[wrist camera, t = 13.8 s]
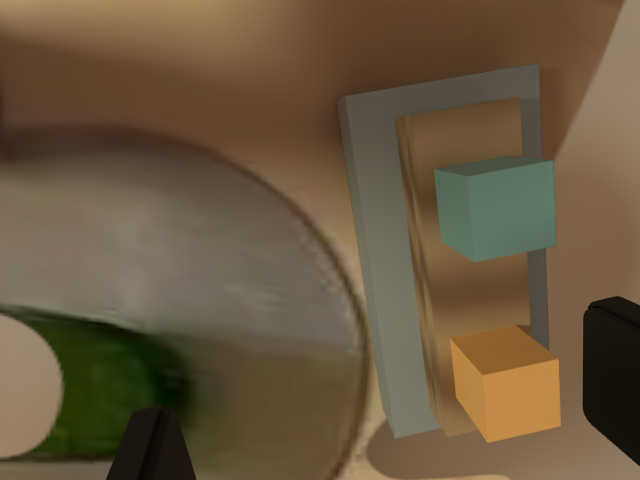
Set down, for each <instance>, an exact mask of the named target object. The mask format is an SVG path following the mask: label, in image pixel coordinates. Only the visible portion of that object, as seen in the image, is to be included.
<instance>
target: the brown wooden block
mask: <svg viewBox="0 0 640 480" xmlns="http://www.w3.org/2000/svg"><path fill="white" fill-rule="evenodd" d="M395 124H396V132H397V140H398V149H399V157H400V165H401V174H402V182H403V191H404V199H405V207H406V216H407V224H408V232H409V241H410V249H411V258H412V266H413V274H414V283H415V291H416V300H417V308H418V316H419V325H420V333H421V341H422V350H423V358H424V367H425V375H426V383H427V392H428V400H429V407H430V409H431V411H432V412H433V414H434V416H435V418H436V419H437V421H438V423H439V424H440V426H441V428H442V430H443V431H444V433H445V435H446V436H447V437H450V436H455V435H460V434H464V433H469V432H473V431H477V430H479V429H478V428H477V426H476V425H475V424H474V422H473V421H472V419H471V418H470V416H469V415H468V414H467V412H466V411H465V409H464V408H463V406H462V405H461V404H460V402H459V401H458V399H457V398H456V391H455V381H454V371H453V361H452V351H451V341H450V339H451V338H455V337H460V336H465V335H470V334H474V333H479V332H484V331H489V330H493V329H498V328H503V327H507V326H512V325H516V326H517V327H519V328H520V329H521V330H522V331H524V332H525V333H526V334H527V335H529V336H530V337H531V327H530V306H529V285H528V263H527V252H523V253H518V254H513V255H508V256H503V257H498V258H493V259H489V260H484V261H479V262H473V261H471V260H470V259H468V258H467V257H465V256H463V255H462V254H460V253H459V252H457V251H455V250H454V249H452V248H451V247H449V246H448V245H446V244H444V243H443V242H441V234H440V225H439V215H438V205H437V195H436V185H435V175H434V169H438V168H443V167H449V166H454V165H459V164H465V163H470V162H476V161H481V160H486V159H492V158H497V157H502V156H513V157H522V136H521V115H520V97H514V98H508V99H501V100H494V101H488V102H482V103H476V104H473V105H467V106H461V107H454V108H448V109H442V110H436V111H433V112H428V113H422V114H414V115H408V116H402V117H397V118H395Z"/></svg>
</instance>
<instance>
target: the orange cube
mask: <svg viewBox="0 0 640 480" xmlns="http://www.w3.org/2000/svg"><path fill="white" fill-rule="evenodd" d="M450 341H451V351H452V361H453V371H454V381H455V391H456V398H457V399H458V401H459V402H460V404H461V405H462V406H463V408H464V409H465V411H466V412H467V414H468V415H469V416H470V418H471V419H472V421H473V422H474V424H475V425H476V426H477V428H478V429H479V430H480V432H481V433H482V435H483V436H484V438H485V439H486V441H487V442H488V443H489V442H493V441H498V440H502V439H506V438H511V437H515V436H520V435H524V434H528V433H532V432H537V431H541V430H546V429H550V428H554V427H559V426H561V422H560V389H559V359H558V358H557V357H556V356H554V355H553V354H552V353H550V352H549V351H548V350H547V349H545V348H544V347H543V346H542V345H540V344H539V343H538V342H536V341H535V340H534V339H533V338H531V337H530V336H529V335H527V334H526V333H525V332H524V331H522V330H521V329H520V328H519V327H517V326H516V325H512V326H507V327H503V328H498V329H493V330H489V331H484V332H479V333H474V334H470V335H465V336H460V337H455V338H451V339H450Z"/></svg>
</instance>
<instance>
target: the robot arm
mask: <svg viewBox="0 0 640 480" xmlns="http://www.w3.org/2000/svg"><path fill="white" fill-rule="evenodd" d="M583 318H584V319H583V411H584V414H585V416H586V418H587V420H588V421H589V422H590V423H591V425H592V426H594V427H595V428H596V429H597V430H598V431H599V432H601V433H602V434H603V435H604V436H605V437H606V438H608V439H609V440H610V441H611V442H612V443H613V444H615V445H616V446H617V447H618V448H619V449H620V450H622V451H623V452H624V453H625V454H626V455H627V456H628V457H629V458H631V459H632V460H633V461H634V462H635V463H637V464H638V465H639V466H640V305H638V304H636V303H633V302H631V301H629V300H627V299H624V298H622V297H619V296H616V297H611V298H606V299H602V300H598V301H594V302H592V303H590V305H589V306H588V310H586V311H585V313H584V317H583ZM106 480H196V476H195V473H194V470H193V466H192V463H191V460H190V457H189V453H188V450H187V447H186V443H185V440H184V437H183V434H182V430H181V427H180V424H179V420H178V417H177V414H176V412H175V411H174V410H169V411H167V410H166V408H165V407H164V406H163V405H159V406H155V407H151V408H147V409H142V410H138V411H135V412H133V414H132V415H131V418H130V420H129V423H128V425H127V428H126V430H125V433H124V435H123V438H122V440H121V443H120V446H119V448H118V451H117V453H116V456H115V458H114V461H113V463H112V466H111V468H110V471H109V473H108V476H107V478H106Z"/></svg>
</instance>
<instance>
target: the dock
mask: <svg viewBox="0 0 640 480" xmlns="http://www.w3.org/2000/svg"><path fill="white" fill-rule="evenodd" d="M514 97H520V115H521V136H522V157H524V158H535V159H542V134H541V106H540V78H539V63H535V64H529V65H524V66H518V67H512V68H506V69H500V70H494V71H488V72H483V73H477V74H471V75H465V76H459V77H453V78H447V79H442V80H436V81H430V82H424V83H418V84H412V85H406V86H401V87H395V88H389V89H383V90H377V91H371V92H365V93H360V94H354V95H348V96H344V97H342V98H340V99H338V100H336V104H337V111H338V117H339V124H340V130H341V137H342V144H343V150H344V157H345V163H346V170H347V177H348V183H349V190H350V196H351V203H352V210H353V216H354V223H355V229H356V236H357V243H358V249H359V256H360V262H361V269H362V276H363V282H364V289H365V295H366V302H367V309H368V315H369V322H370V328H371V335H372V341H373V348H374V355H375V361H376V368H377V374H378V381H379V388H380V394H381V401H382V407H383V410H384V412H385V415H386V417H387V420H388V422H389V424H390V427H391V429H392V432H393V434H394V437H395V438H399V437H404V436H408V435H412V434H417V433H421V432H426V431H430V430H434V429H439V428H441V426H440V424H439V423H438V421H437V419H436V418H435V416H434V414H433V412H432V411H431V409H430V407H429V400H428V392H427V383H426V375H425V367H424V358H423V350H422V341H421V333H420V325H419V316H418V308H417V300H416V291H415V283H414V274H413V266H412V258H411V249H410V241H409V232H408V224H407V216H406V207H405V199H404V191H403V182H402V174H401V165H400V157H399V149H398V140H397V132H396V124H395V118H397V117H402V116H408V115H414V114H422V113H428V112H433V111H436V110H442V109H448V108H454V107H461V106H467V105H473V104H476V103H482V102H488V101H494V100H501V99H508V98H514ZM527 263H528V285H529V306H530V327H531V338H533V339H534V340H535V341H536V342H538V343H539V344H540V345H542V346H543V347H544V348H545V349H547V350H548V351H549V330H548V304H547V274H546V248H543V249H538V250H533V251H528V252H527Z"/></svg>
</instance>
